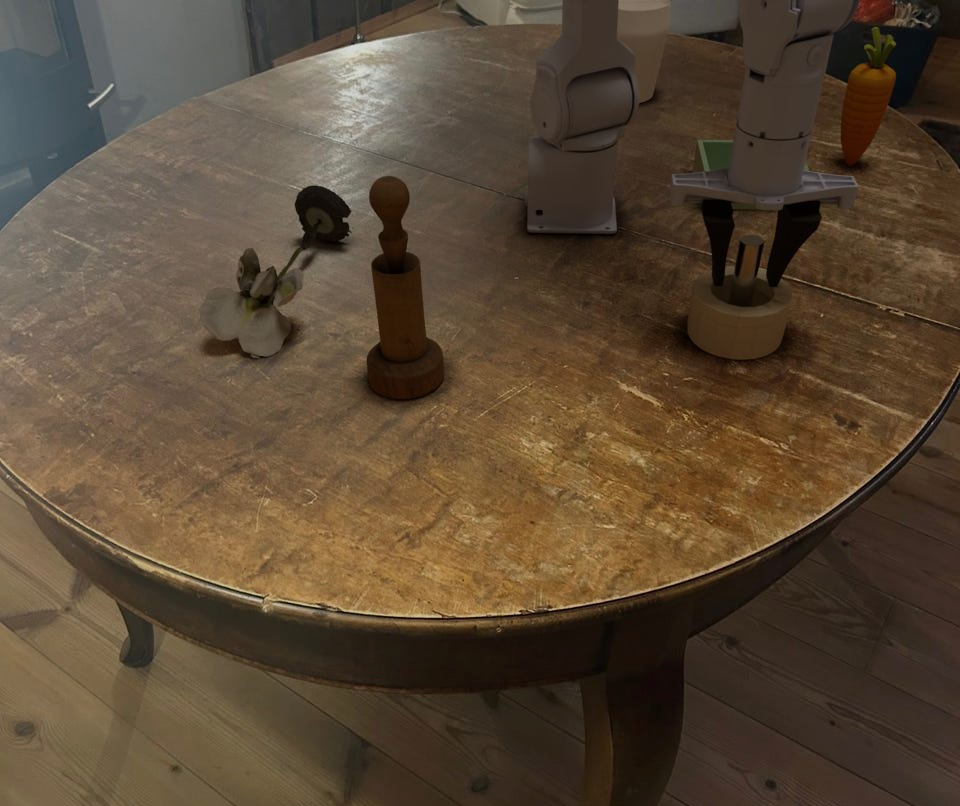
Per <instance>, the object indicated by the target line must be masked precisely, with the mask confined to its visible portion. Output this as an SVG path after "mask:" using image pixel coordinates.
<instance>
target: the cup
mask: <svg viewBox="0 0 960 806" xmlns="http://www.w3.org/2000/svg"><path fill="white" fill-rule="evenodd" d="M671 2H672V1H671V0H619V6H618V25H617V38H618V39H619V40H620V41H621V42H623V43H624V44H625V45H626V46H628V47H629V48H630V49H631V50H632V51H633V53H634V54H635V55H636V67H635V69H636V78H637V83H638V87H639V95H640V99H639V104H641V103H646V102H647V101H649V100H650V99H652V98H653V96H654V93H655V89H656V85H657V84H656V83H657V79H658V76H659V72H660V68H661V65H662V59H663V54H664V51H665V48H666V43H667V38H668V35H669V29H670V26H671V25H670V23H671V22H670V21H671V19H670V17H671Z"/></svg>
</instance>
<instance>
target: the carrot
mask: <svg viewBox="0 0 960 806" xmlns="http://www.w3.org/2000/svg"><path fill="white" fill-rule="evenodd" d="M870 31H871V38H872V42H873V45H872V44H869V43H868V44H865V45H863V49H864V50H865V53H866V55H867V57H868V59H869V61H870V62H862V63H859V64H858V65H857V66H856V67H854V69H852V70H851V71H850V74H849V75H848V78H847V83H846V84H847V85H846V89H845V92H844V98H843V104H842V108H841V116H840V117H841V119H840V143H841V150H842V151H841V152H842V155H843V157H844V161H845V163H846V164H847V166H848V167H852V166H854V165H855V164H856V163H857V162H858V161H859V159H860V158H861V157H862V156H863V155H864V153H865V152H866V151H867V150H868V148H869V147H870V145H871V143H872V142H873V141H874V138H875V136H876V134H877V132H878V131H879V129H880V126H881V124H882V122H883V119H884V117H885V116H886V112H887V110H888V107H889V103H890V100H891V97H892V93H893V90H894V87H895V85H896V79H897V72H895V70H894V69H893V68H891V67H890V66H888V64H885V62H886V60H887V58H888V57H889V55H890V54H891V52H892V50H893V49H894V48H895V47H896V45H897V43H896V41H894V40H893V39H894V37H893V36H892V35H891V34H886V35H885V39H884V44H883V47H882V37H881V32H880V27H877V26H874V27H872V28H871V29H870ZM882 48H883V49H882Z"/></svg>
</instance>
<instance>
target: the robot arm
mask: <svg viewBox="0 0 960 806" xmlns="http://www.w3.org/2000/svg"><path fill="white" fill-rule="evenodd" d="M860 3H861V0H737V10H738V11H737V13H738V19H739V20H738V21H739V24H740V26H741V31H742V46H741V47H742V48H741V54H740V56H741V57H742V58H743V59H742V63H743V66H745V69H744V77H743V83H742V87H741V88H742V89H741V95H740V99H739V100H740V101H739V107H738V112H737V119H736V124H735V130H734V136H733V140H734V141H733V147H732V153H731V159H730V165H729V168H723V169H716V170H709V171H703V172H696V173H693V172H689V173H672V174H671V176H670V184H669V191H668V192H669V194H668V197H669V204H670V207H672V208H673V207H678V208H679V207H681V208H682V207H684V206H685V204H699V203H700V204H699V207H700V206H701V209H700V210H701V216H702V220H703V223H704V226H705V229H706V232H707V236H708V239H709V243H710V252H711V269H712V279H713V284H714V286H722V285H723V282H724V277H725V268H726V266H727V257H728V252H729V249H730V248H729V247H730V244H731V239H732V236H733V233H734V230H735V227H736V223H735V219H734V217H733V215H734V209H732V205H731V204H751V205H755V207H756V208H757V209H759V211H777V215H776V216H777V218H776V225H775V231H774V238H773V241H772V245H771V249H770V252H769V256H768V260H767V261H768V262H767V266H766V270H765V271H766V277H767V280H768V284H769V287H778V284H779V282H780V280H781V279H782V278H783V276H784V274H785V271H786V269H787V268H788V266H789V265H790V263H791V262H792V260H793V258H794V257H795V256H796V254H797V252H798V251H799V250H800V249H801V247H802V246H803V245H804V244H805V243H806V241H807V240H808V239H810V237H811V236H813V234H814V233H815V232H816V231H817V230H818V229H819V227H820V224H821V222H822V214H821V212H820V208H821V206H822V205H823V206H825V205H826V206H827V205H828V206H837V207H838V208H839V209H842V210H844V209H846V210H847V209H849V210H850V209H851V210H852V209H854V205H855V202H856V198H857V194H858V190H859V185H858V183H857V180H856V178H855V176H854V175H841V174H832V173H831V174H830V173H824V172H818V171H812V170H810V171H806V170H804V166H805V162H806V163H807V156H808V152H809V147H810V143H811V139H812V134H813V130H814V125H815V121H816V116H817V113H818V108H819V102H820V99H821V94H822V89H823V85H824V80H825V76H826V72H827V68H828V64H829V58H830V54H831V50H832V46H833V45H832V44H833V40H834V34H835V33H837V32H839V31H842V30H843V29H845V27H847V26H848V25H849V24H850V23H851V22H852V20H853V19H854V17H855V15H856V13H857V11H858V8H859V6H860ZM561 6H562V8H561V9H562V13H561V34H560V36H559V37H558V38H557V39H556V40H555V41H554V42H553V43H552V44H551V45H550V47H548V48H547V49H546V51H544V52H543V53H542V55H541V56H540V57H539V58H537V60H536V63H535V68H536V69H535V80H534V85H533V88H532V90H531V95H530V102H529V105H530V107H529V108H530V116H531V121H532V123H533V126H534V128H535V130H536V132H537V133H538V135H532V136H529V139H528V141H529V142H528V157H527V158H528V159H527V161H528V162H527V165H528V166H527V188H525V189H524V190H525V191H524V205H525V207H527V220H526V221H527V225H526V226H527V227H526V231H527V232H528V233H531V234H532V233H533V234H590V235H591V234H592V235H593V234H595V235H599V234H600V235H605V234H606V235H614V234H616V233H617V231H618V227H617V226H618V225H617V213H616V199H615V198H614V192H615V181H616V180H615V179H616V171H617V170H616V169H617V158H618V157H617V156H618V145H619V144H618V143H619V139H621V138H624V137H625V132H626V127H627V126H629V125H631V124H632V122H634V120H635V118H636V116H637V114H638V111H639V106H640V103H639V99H640V95H639V87H638V83H637V78H636V69H635V67H636V55H635V54H634V53H633V51H632V50H631V49H630V48H629V47H628V46H626V45H625V44H624V43H623V42H621V41H620V40H619V39H618V38H617V25H618V6H619V0H562V5H561Z"/></svg>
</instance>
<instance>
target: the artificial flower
mask: <svg viewBox="0 0 960 806" xmlns="http://www.w3.org/2000/svg"><path fill="white" fill-rule="evenodd" d="M295 198H296V199H295V202H294V209H295V212H296V215H297V216H298V221H299V223H300V225H301V226H302V227H301V229H302V231H303V232H304V234H303V235H302V239H301V244H300V246H299V247H297V248H296V250H295V251H294V252H293V253H292V256H291V257H290V259H289V261H288V262H287V264H286V265H285V266H284V267H283V268H282V269H281V271H280V272H279V273H278V272H277V269H276V268H275V266H274V265H272V266H269V267H268V268H266V270H263V271H261V265H260V261H259V260H260V259H259V256H258V253H256V250H254V247H248V248H246V249H244V251H243V253H242V255H241V256H240V257H239V258H238V264H237V271H236V282H237V285H238V289H239V291H235V290H234V289H233V288H231V287H226V286H221V287H220V286H218V287H215V288H212V289H210V290H209V291H208V292H207V293H206V297H205V299H204V301H203V302H202V303H201V305H200V306H199V308H198V309H199V311H198V312H199V318H200V321H201V324H202V326H203V327H204V328H205V330H206V331H207V332H208V333H209V334H210V335H211V336H212V337H213V338H214V339H216V340H218V341H221V342H223V341H232V340H234V339H237V340H238V342H239V345H240V347H241V349H242V351H243V352H246V353H247V354H250V357H252V358H253V359H261V357H272V356H274V355H275V354H277V353H278V352H279V351H281V349H282V346H283V345H284V340H286V338H287V337H288V336H289V335H290V333H291V330H292V327H291V322H290V320H289V319H288V317H287V316H285V315H283V314H282V313H281V312H280V310H278V308H279V307H282V306H284V305H287V304H288V303H290V302H291V301H292V300H294V299H295V297H296V295H297V293H299V292H300V291H302V290H303V287H304V285H303V283H304V272H303V270H302V269H300V268H298V267H297V268H293V269H290V267H291V266H292V265H293V263H294V262H295V260H296V259H297V258H298V257H299V255H300V254H301V253H302V252H304V251H306V250H307V249H309V248H311V246H312V244H313V243H314V241H318V242H319V241H322V240H323V241H325V242H333V243H338V242H339V241H342V240H344V239H345V238H346V237H347V238H348V237H349V236H350V234H353V231H352V230H354V227H353V226H352V227H351V229H352V230H350V224H349V222H347V221H344V219H348V218H349V216H350V215H351V213H352V210H351V208H350V206H349V204H347V202H346V201H345V200H344V198H342V197H341V196H340V195H339V194H337V193H336V192H335V191H333V190H331V189H330V188H327V187H325V186H323V185H307V186H305V187H302V189H301V191H298V193H297V195H296V197H295ZM290 248H292V245H290ZM289 269H290V270H289ZM274 300H275V303H276V305H277V307H278V308H276V305H274Z"/></svg>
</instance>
